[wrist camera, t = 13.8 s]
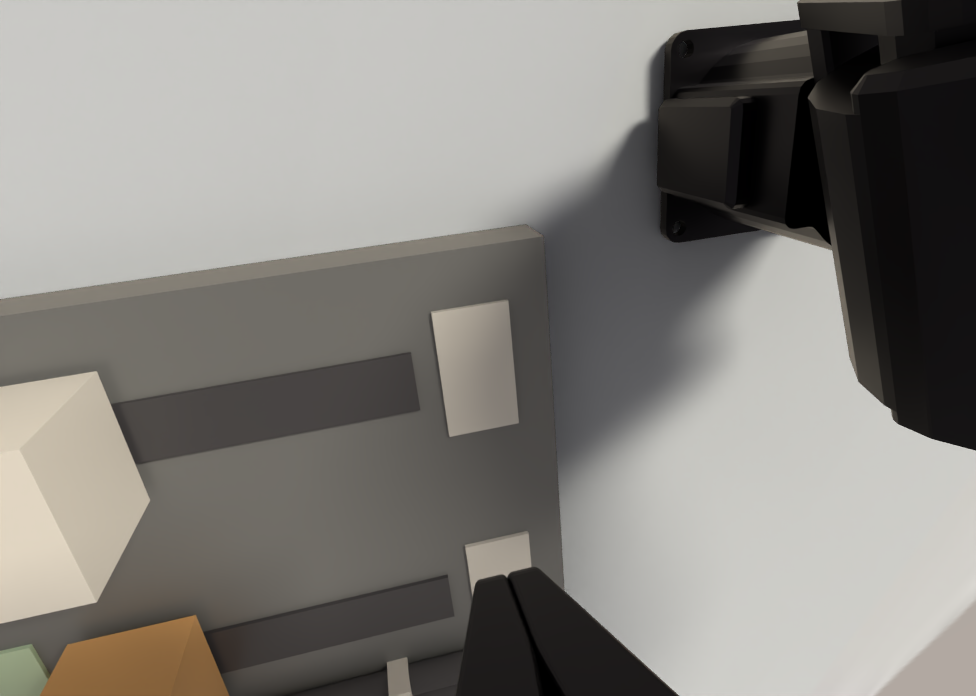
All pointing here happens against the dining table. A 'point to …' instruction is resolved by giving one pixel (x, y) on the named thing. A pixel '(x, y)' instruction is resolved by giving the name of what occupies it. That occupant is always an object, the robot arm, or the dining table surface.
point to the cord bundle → (400, 680)
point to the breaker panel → (312, 451)
